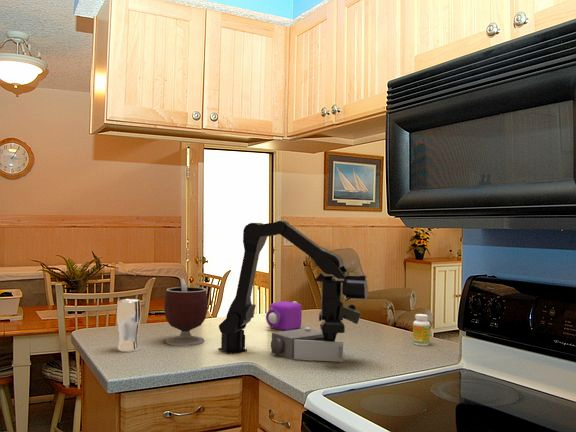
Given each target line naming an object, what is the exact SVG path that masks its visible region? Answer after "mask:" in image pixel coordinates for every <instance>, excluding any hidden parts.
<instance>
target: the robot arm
mask: <svg viewBox="0 0 576 432" xmlns="http://www.w3.org/2000/svg"><path fill="white" fill-rule="evenodd" d="M242 230H243V232H242V233H243V234H242V243H243V248H244V249H243V251H244V253H243V258H242V264H241V267H240V273H239V278H238V284H237V289H236V294H235V297H234V298H233V300H232V302H231V304H230V306H229V308H228V311H227V313H226V317H225V319H224V320H223V321H222V322H220V323H219V325H218V329H219V331H220V333H221V336H220V337H221V340H220V341H221V343H220V344H221V346H220V347H218V350H219V351H221V352H224V353H225V354H236V353H242V352H247V349H246V334H245V329H246V327H247V324H249V323H250V322H251V321H252V319H253V318H254V317H255V316H254V313H255V308H256V304H252V297H251V296H252V292H253V287H254V282H255V277H256V273H257V267H258V261H259V256H260V253H261V251H262V249H264V246H265V244H266V242H267V240H268V237H272V236H273V237H274V236H277V235H281V236H282V237H283V238H284V239H286V240H287V241H288V242H290V243H291V244H292V245H294V246H295V247H296V248H298V249H299V250H301V251H302V252H303V253H304V254H306V255H307V256H308V257H309V258H311V259H312V261H313V263H314V264H315V265H316V266H317V267H318V268H319V269H320V270H321V272H320V273H319V275H318V276H317V277H316V278H315V279H314V282H321V299H320V304H321V311H320V312H319V313H318V321H319V322H321V324H319V326H320V330H321V332H322V333H323V336H324V339H325V341H335V342H336V338H337V335H338V334H343V333H345V328H346V327H345V324H344V322H343V321H344V320H347V321H349V322H352V323H353V324H355V325H357V324H358V323H359V321H360V318H361V316H362V312H361V311H360V310H359V309H357V308H356V305H355V304H353V303H349V304H348V305H344V303H343V300H342V295H343V296H345V297H346V299H353V300H354V299H356V300H367V299H368V295H369V285H368V280H367V274H360V275H353V274H351V273H350V272H349V271H348V269H346V267H345V266H344V259H343V257H342V256H341V255H340V254H338V253H336V252H334V251H332V250H331V249H330V250H329V249H327V248H325V247H323V246H320V245H318V244H317V243H316V242H314V241H313V240H312V239H310V238H309V237H308V236H306V235H305V234H304V233H302V232H301V231H299V230H298V229H296V228H295V227H294V226H293V225H291V224H290V223H289V221H287V220H276V221H274V222H267V223H262V222H250V223H248V224H247V225H245V226H244V228H243V229H242ZM325 274H326V275H325Z"/></svg>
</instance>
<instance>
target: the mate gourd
mask: <svg viewBox="0 0 576 432" xmlns="http://www.w3.org/2000/svg"><path fill="white" fill-rule="evenodd" d="M180 281H181V282H180V286H178V287H177V286H176V287H175V286H174V287H170V288H169V287H168V288H167V289H166V292H165V295H164V307H163V308H164V316H165V319H166V321H167V323H168V324H169V325H170V326H171V327H172V328H174V329H177V330H179V331H180V334H179V335H177V336H172V337H168V338H166V340H165V343H166V344H168V345H171V346H176V347H177V346H179V347H187V346H188V347H189V346H198V345H201V344H203V343H205V338H204V337H202V336H197V335H196V336H194V335H192V334H191V331H192V330H194V329H196V328H199V327H200V326H201V325H202V324H204V323H203V322H205V320H206V316H207V313H208V308H209V307H208V306H209V304H208V293H207V288H205V287H197V286H196V287H194V286H187V283H186V281H185V279H184V278H183V277H181V278H180Z"/></svg>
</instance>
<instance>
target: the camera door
mask: <svg viewBox="0 0 576 432" xmlns="http://www.w3.org/2000/svg"><path fill="white" fill-rule="evenodd" d="M293 360H305V361H307V360H309V361H322V362H323V361H325V362H326V361H327V362H339V363H340V362H341V363H343V362H344V341H336V340H335V341H315V340H296V339H295V340H294V359H293Z"/></svg>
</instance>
